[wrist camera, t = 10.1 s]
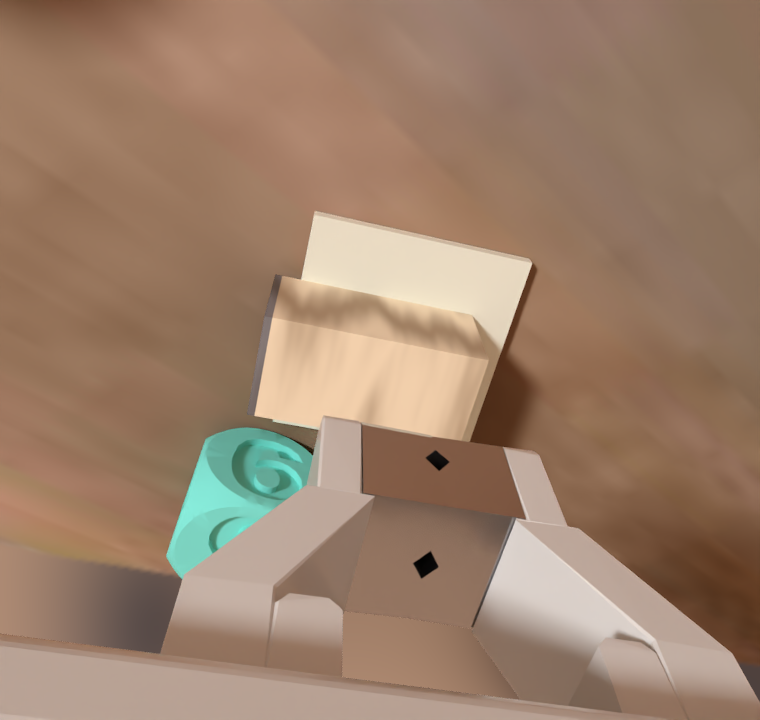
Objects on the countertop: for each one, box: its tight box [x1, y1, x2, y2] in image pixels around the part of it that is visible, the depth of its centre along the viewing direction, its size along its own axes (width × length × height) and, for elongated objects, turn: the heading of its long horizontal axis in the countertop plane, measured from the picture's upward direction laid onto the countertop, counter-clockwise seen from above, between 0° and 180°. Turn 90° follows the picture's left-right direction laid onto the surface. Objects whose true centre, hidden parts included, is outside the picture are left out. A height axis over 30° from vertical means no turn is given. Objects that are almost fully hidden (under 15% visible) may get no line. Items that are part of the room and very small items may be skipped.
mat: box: [273, 211, 532, 442], centre depth 45 cm, size 13×14×1 cm
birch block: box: [247, 275, 489, 441], centre depth 41 cm, size 6×6×12 cm
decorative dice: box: [166, 428, 313, 579], centre depth 46 cm, size 8×8×8 cm
